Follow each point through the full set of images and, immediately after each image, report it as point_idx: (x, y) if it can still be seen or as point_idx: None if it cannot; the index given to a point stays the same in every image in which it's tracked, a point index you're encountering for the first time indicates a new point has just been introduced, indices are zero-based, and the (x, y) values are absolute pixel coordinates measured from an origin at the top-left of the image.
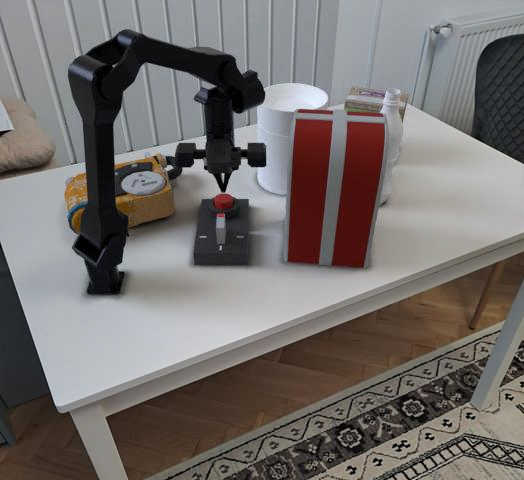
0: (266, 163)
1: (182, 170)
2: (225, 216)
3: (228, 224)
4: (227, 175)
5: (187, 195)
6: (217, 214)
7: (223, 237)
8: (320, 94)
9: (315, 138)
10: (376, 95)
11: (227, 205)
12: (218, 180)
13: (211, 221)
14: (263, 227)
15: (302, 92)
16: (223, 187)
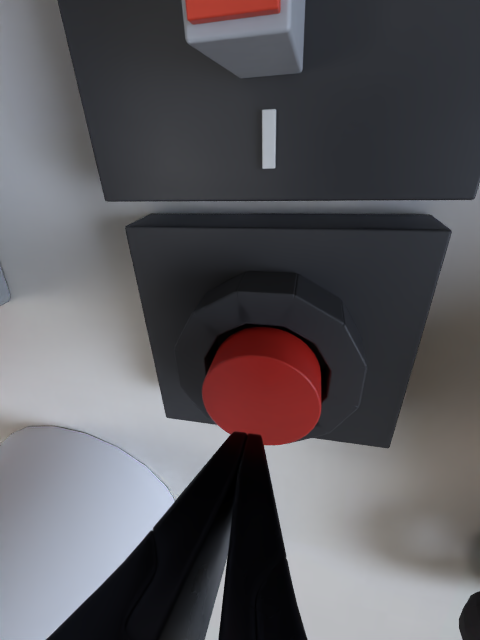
0: (82, 572)
1: (464, 613)
2: (256, 278)
3: (227, 175)
4: (120, 614)
5: (439, 486)
6: (286, 12)
7: None
8: None
9: None
10: None
11: (235, 345)
12: (259, 557)
13: (351, 247)
14: (91, 248)
15: None
16: (232, 470)
